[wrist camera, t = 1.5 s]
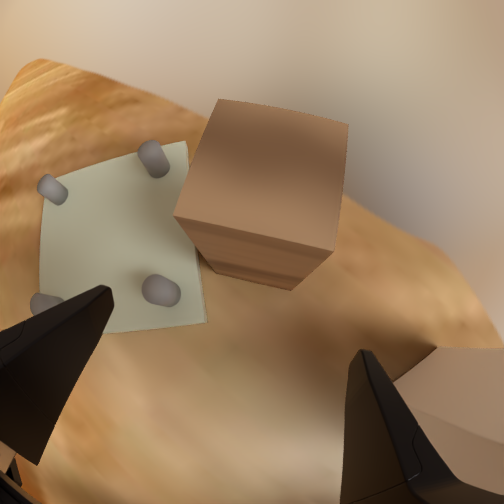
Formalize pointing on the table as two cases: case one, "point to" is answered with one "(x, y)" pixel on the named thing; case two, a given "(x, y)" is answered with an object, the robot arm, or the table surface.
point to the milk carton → (461, 410)
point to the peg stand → (122, 240)
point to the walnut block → (265, 192)
